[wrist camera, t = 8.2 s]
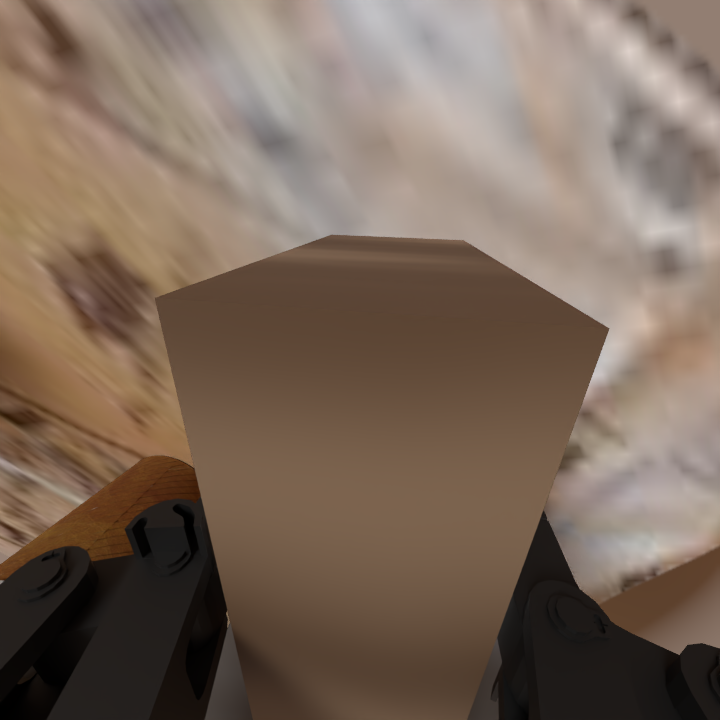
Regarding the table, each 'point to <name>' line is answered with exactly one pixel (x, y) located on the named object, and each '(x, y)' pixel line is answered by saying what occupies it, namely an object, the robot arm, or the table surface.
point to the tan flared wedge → (372, 467)
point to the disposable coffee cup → (112, 512)
